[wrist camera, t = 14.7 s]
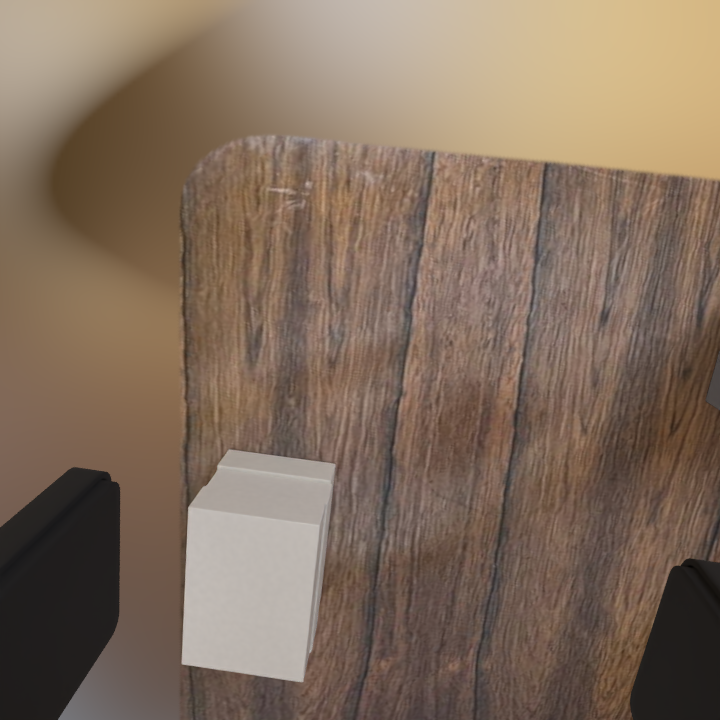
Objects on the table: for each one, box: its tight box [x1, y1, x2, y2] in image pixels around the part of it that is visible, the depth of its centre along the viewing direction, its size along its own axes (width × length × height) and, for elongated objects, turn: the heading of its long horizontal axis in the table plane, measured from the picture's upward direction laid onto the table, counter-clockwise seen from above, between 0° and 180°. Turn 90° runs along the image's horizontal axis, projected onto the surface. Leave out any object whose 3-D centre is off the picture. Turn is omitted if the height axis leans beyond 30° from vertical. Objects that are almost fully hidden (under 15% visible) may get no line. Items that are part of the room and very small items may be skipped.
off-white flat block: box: [182, 486, 326, 682], centre depth 33 cm, size 10×7×2 cm
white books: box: [207, 449, 336, 652], centre depth 37 cm, size 10×7×5 cm
